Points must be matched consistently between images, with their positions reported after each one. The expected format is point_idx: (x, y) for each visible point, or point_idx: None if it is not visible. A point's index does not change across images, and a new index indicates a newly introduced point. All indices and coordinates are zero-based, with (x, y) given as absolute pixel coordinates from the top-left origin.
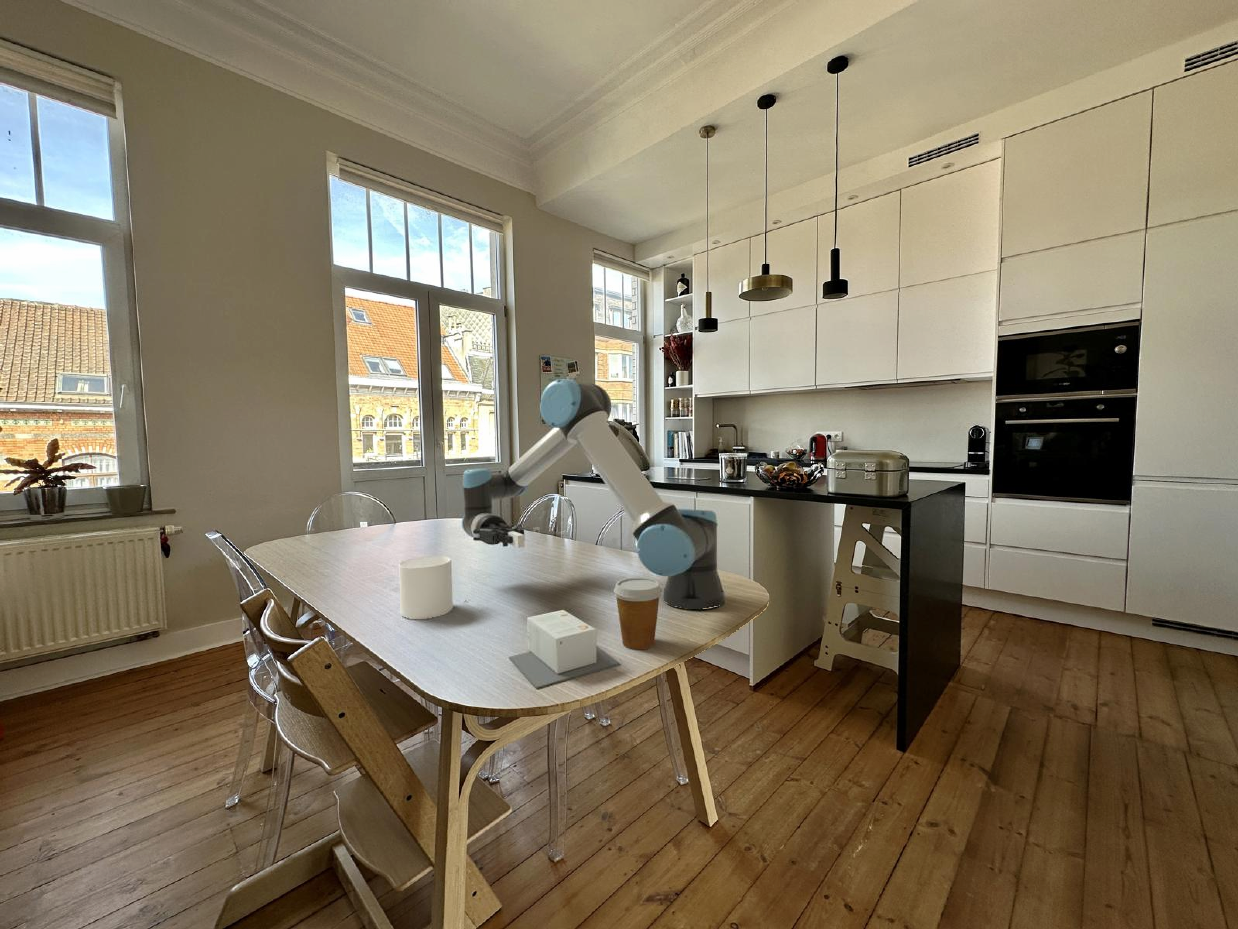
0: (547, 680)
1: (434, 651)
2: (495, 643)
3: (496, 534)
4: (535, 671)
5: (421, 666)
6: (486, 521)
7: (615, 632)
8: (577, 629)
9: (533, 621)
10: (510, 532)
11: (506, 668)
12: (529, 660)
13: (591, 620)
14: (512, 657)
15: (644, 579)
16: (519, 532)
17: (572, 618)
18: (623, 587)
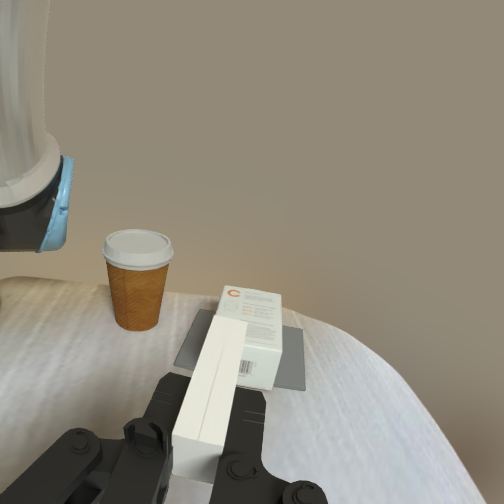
0: (286, 330)
1: (405, 467)
2: (306, 444)
3: (308, 486)
4: (289, 347)
5: (419, 431)
6: None
7: (121, 350)
8: (244, 293)
9: (280, 336)
10: (219, 420)
11: (316, 374)
12: (284, 367)
13: (97, 399)
14: (301, 385)
15: (108, 242)
16: (102, 457)
17: (224, 312)
18: (158, 248)
